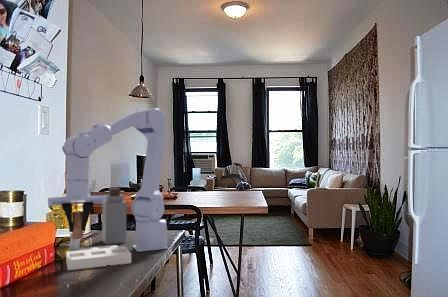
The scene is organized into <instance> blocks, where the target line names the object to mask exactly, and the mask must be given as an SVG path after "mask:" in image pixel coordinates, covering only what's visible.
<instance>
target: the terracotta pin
mask: <svg viewBox="0 0 448 297" xmlns="http://www.w3.org/2000/svg"><path fill="white" fill-rule="evenodd" d="M72 227H73V232H71V233H72V239H80V240H81V239H83V231H82V227H83V211H81V210H80V211H72Z"/></svg>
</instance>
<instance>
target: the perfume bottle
mask: <svg viewBox="0 0 448 297" xmlns="http://www.w3.org/2000/svg"><path fill="white" fill-rule="evenodd" d="M104 195H105V196H106V203H101V206H102V207H101V208H102V210H101V211H102V212H101V213H102V214H101V215H102V216H101V218H102V219H101V220H102V221H101V225H102V226H101V228H102V229H101V233H102V234H101V241H102V243H104V244H105V245H116V244H122V243H127V202H126V201H125V200H124V197H125V195H123V194H121V188H116V187H115V188H108V194H104Z"/></svg>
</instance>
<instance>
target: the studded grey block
mask: <svg viewBox="0 0 448 297" xmlns="http://www.w3.org/2000/svg"><path fill="white" fill-rule="evenodd" d="M80 241H81V239H72V232H70V234H69V248H68V251H79V250H89V249H100V248H110V247H120V246H119V245H118V244H107V245H98V246H88V247H86V246H85V247H80V244H81V243H80Z"/></svg>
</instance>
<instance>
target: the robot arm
mask: <svg viewBox="0 0 448 297" xmlns="http://www.w3.org/2000/svg"><path fill="white" fill-rule="evenodd" d="M166 119H167V118H166V116H165V115H164V113H163V112H162V110H161V109H160V108H158V107H152V108H146V109H135V110H134V111H131V112H128V113H126V114H124V115H123V116H121V117H119V118H118V119H116V120H114V121H112V122H110V123H109V124H107V125H106V124H103V123H94V124H93V125H92V127H91V128H90V129H87V130H86V131H85V130H81V131H79V132H78V135H77V136H70V137H68V138H67V139H66V140H65V142H63V145H62V147H61V150H62V152H63V154H64V155H65V158H66V174H65V175H66V177H65V178H66V180H65V181H66V182H65V183H66V184H65V185H66V188H65V189H66V191H65V192H66V194H65V196H55V197H54V196H53V197H47V198H48V199H47V206H58V205H59V206H60V205H61V208H62V210H63V213H64V215H65V216H66V220H67V224H68V229H69V230H68V231H69V233H72V232H73V227H72V212H73V205H79V204H80V205H81V204H82V212H83V227H82V232H86V227H87V224H88V220H89V217H90V215H91V213H92V211H93V210H94V204H102V203H106V196H105V195H106V194H104V195H102V194H101V195H90V156H91V155H92V154H93V152H94V151H95V150H97V149H99V148H101V147H103V146H105V145H106V144H108V143H111V142H112V140H113V136H115V135H116V134H118V133H121V132H123V131H125V130H127V129H129V128H131V127H132V128H134V129H135V130H136V131H138V132H139V133H141V134H142V135H143V136H145V138H146V139H147V147H146V154H145V159H144V160H145V161H144V167H143V174H142V181H141V187H140V189H139V190H138V191H137V192H136V193H135V195H134V196H135V197H134V199H133V201H132V204H131V206H130V211H131V214H132V215H133V216H134V220H135V244H132V248H133V249H134V250H135V251H136V252H138V253H139V252H148V251H158V250H168V226H167V221H166V219H163V218H162V217H163V215H164V213H165V205H164V195H163V194H162V193H161V191H159V188H160V182H161V176H162V168H163V162H164V161H163V160H164V155H165V154H164V153H165V147H166V139H167V136H166V135H167V134H166V129H165V125H166ZM161 218H162V219H161Z"/></svg>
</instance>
